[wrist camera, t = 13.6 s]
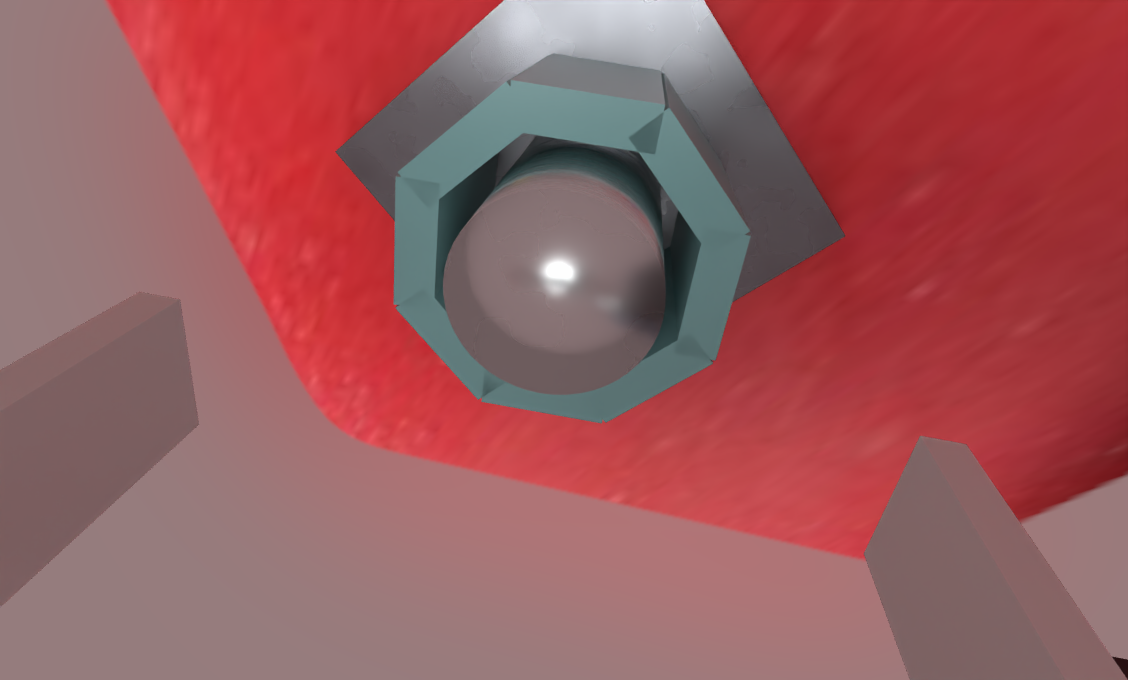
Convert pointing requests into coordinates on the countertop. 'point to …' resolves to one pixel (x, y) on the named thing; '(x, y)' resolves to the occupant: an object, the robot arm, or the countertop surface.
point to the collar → (595, 116)
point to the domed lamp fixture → (589, 190)
